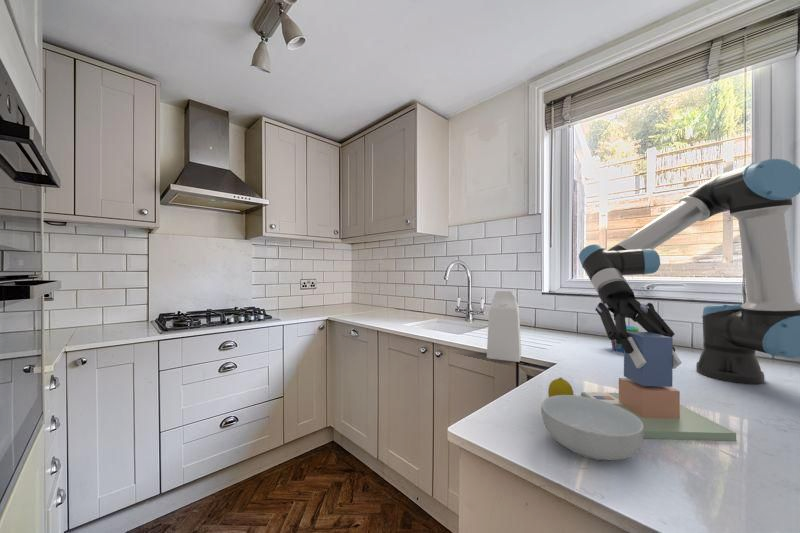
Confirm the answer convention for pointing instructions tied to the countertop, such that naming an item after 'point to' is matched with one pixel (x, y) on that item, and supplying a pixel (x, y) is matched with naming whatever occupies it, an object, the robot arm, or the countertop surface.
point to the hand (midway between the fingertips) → (658, 365)
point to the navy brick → (651, 360)
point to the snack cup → (619, 346)
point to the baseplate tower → (663, 412)
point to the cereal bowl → (592, 427)
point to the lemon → (560, 388)
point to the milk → (504, 328)
